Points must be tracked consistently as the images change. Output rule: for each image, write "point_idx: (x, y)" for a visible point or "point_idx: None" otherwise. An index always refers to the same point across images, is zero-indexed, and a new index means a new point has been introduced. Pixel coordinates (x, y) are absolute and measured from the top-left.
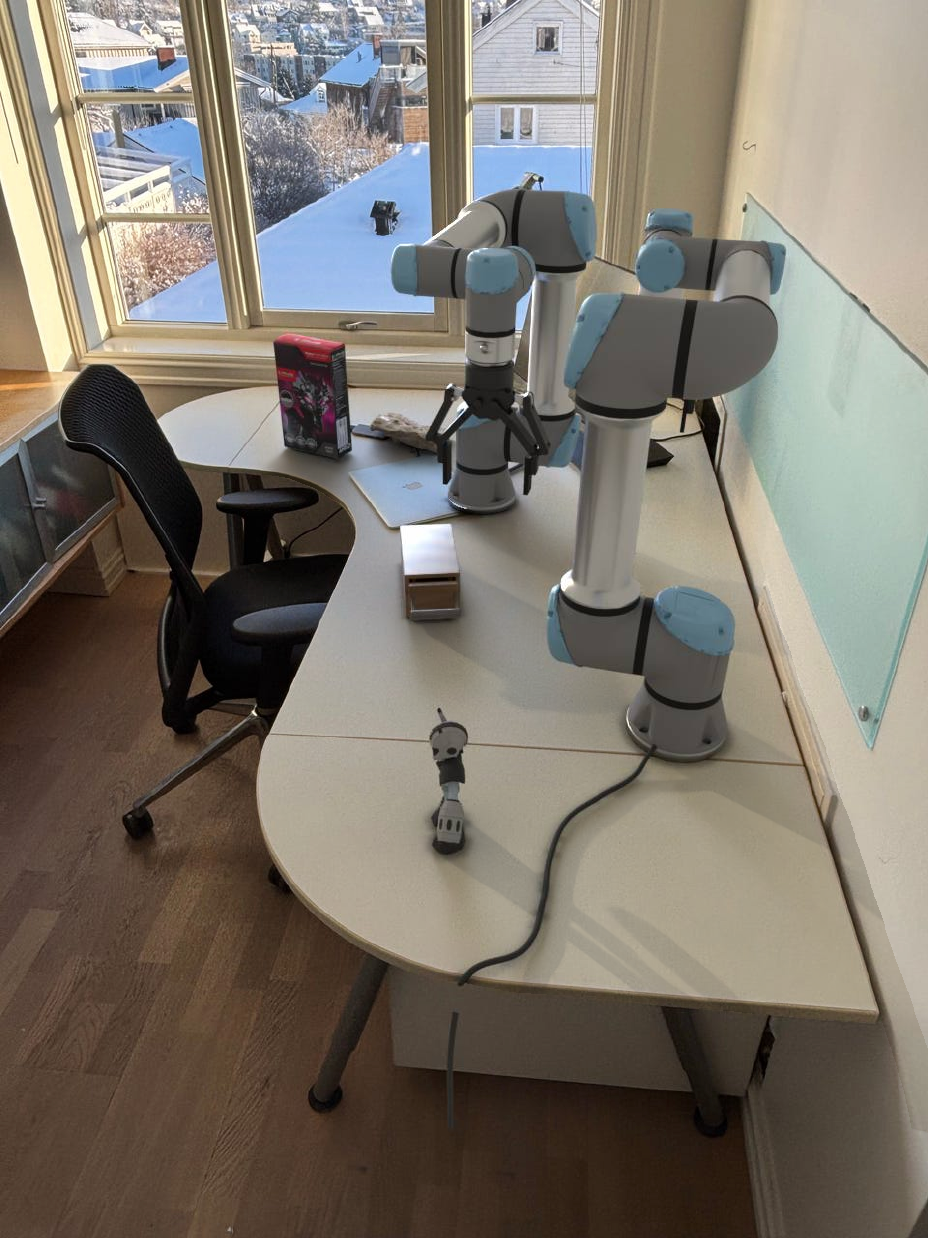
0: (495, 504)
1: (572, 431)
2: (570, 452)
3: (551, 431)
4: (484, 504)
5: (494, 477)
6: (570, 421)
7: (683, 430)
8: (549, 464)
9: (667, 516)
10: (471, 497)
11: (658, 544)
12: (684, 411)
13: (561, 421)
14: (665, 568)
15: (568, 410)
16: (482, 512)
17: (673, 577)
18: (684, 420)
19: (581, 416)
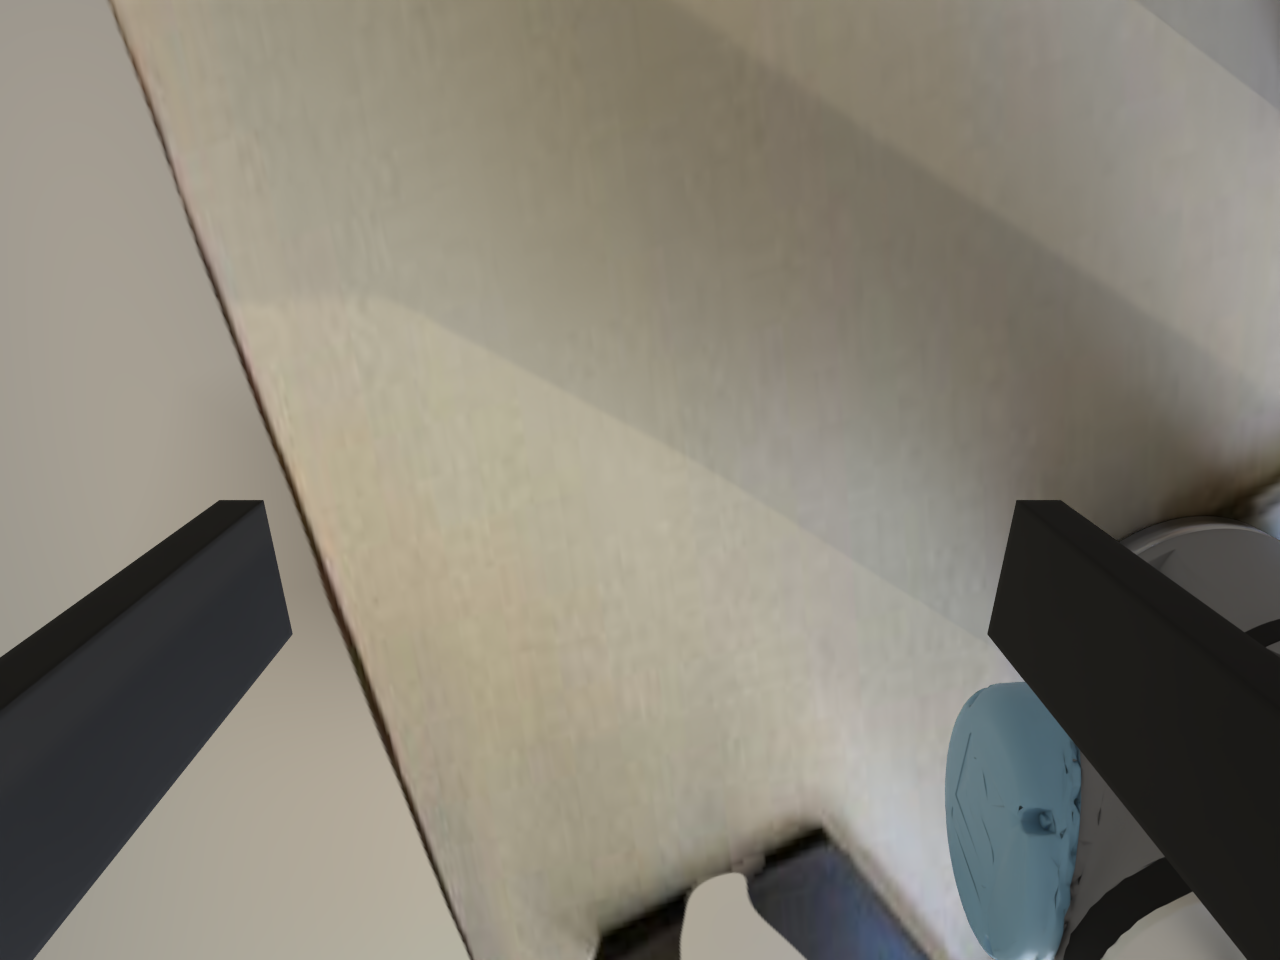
0: (1144, 555)
1: (1039, 826)
2: (994, 722)
3: None
4: (1189, 540)
5: None
6: (1077, 884)
7: (209, 508)
8: None
9: (553, 660)
10: (1256, 549)
11: (555, 481)
12: (69, 636)
13: (1143, 859)
14: (507, 325)
15: (1137, 943)
16: (1174, 522)
17: (471, 269)
18: (139, 564)
19: (1007, 953)
